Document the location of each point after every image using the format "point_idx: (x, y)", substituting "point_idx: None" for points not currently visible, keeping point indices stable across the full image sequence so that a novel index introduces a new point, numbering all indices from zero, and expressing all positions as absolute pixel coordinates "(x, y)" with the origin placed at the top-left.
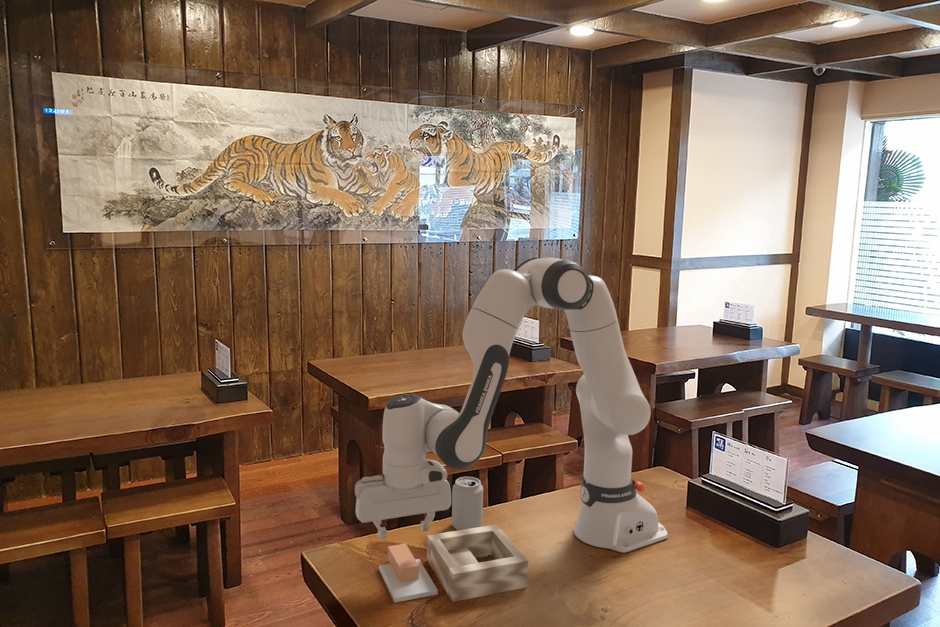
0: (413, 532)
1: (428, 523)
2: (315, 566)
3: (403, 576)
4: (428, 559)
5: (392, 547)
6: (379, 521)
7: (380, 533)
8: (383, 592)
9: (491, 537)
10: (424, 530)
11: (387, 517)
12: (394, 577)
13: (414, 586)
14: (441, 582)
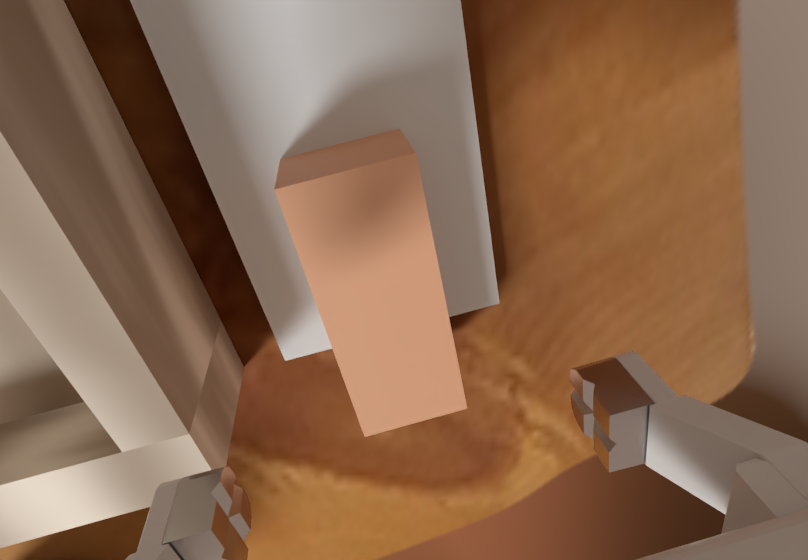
0: (317, 550)
1: (151, 551)
2: (749, 323)
3: (384, 142)
4: (232, 361)
5: (443, 399)
6: (785, 492)
7: (661, 383)
8: (496, 70)
9: None
10: (211, 475)
11: (749, 554)
12: (430, 187)
13: (307, 68)
14: (126, 137)
